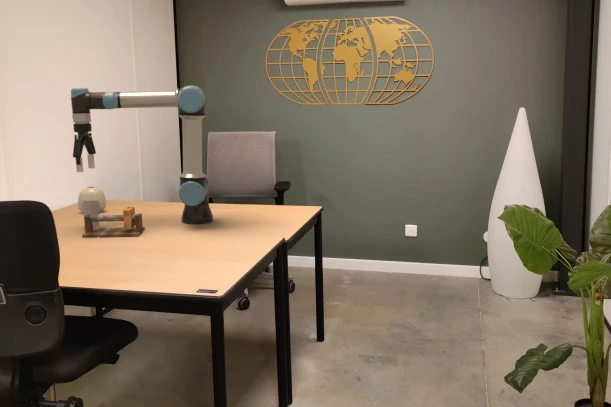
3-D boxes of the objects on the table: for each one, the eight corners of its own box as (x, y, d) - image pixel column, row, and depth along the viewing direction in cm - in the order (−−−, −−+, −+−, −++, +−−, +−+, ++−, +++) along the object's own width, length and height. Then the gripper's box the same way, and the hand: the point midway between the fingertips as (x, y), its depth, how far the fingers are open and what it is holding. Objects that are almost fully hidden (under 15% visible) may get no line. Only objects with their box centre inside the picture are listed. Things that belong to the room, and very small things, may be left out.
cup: (95, 229, 280) (93, 203, 278) (79, 228, 282) (77, 203, 280) (104, 225, 288) (102, 200, 286) (89, 224, 289) (87, 200, 287)
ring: (135, 225, 275) (134, 206, 273) (131, 229, 267) (130, 210, 265) (128, 225, 275) (127, 206, 273) (124, 229, 266) (123, 210, 265)
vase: (77, 215, 312) (75, 189, 310) (80, 210, 326) (79, 185, 323) (105, 214, 315) (103, 188, 313) (107, 209, 329) (106, 184, 326)
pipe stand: (144, 229, 278) (143, 211, 277) (138, 236, 265) (137, 217, 263) (91, 230, 277) (90, 212, 275) (82, 237, 263) (80, 218, 262)
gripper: (84, 121, 284) (88, 166, 287) (62, 124, 259) (66, 173, 263) (100, 121, 283) (104, 166, 287) (79, 124, 259) (83, 173, 263)
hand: (86, 170), depth 275 cm, fingers open, 13 cm apart
